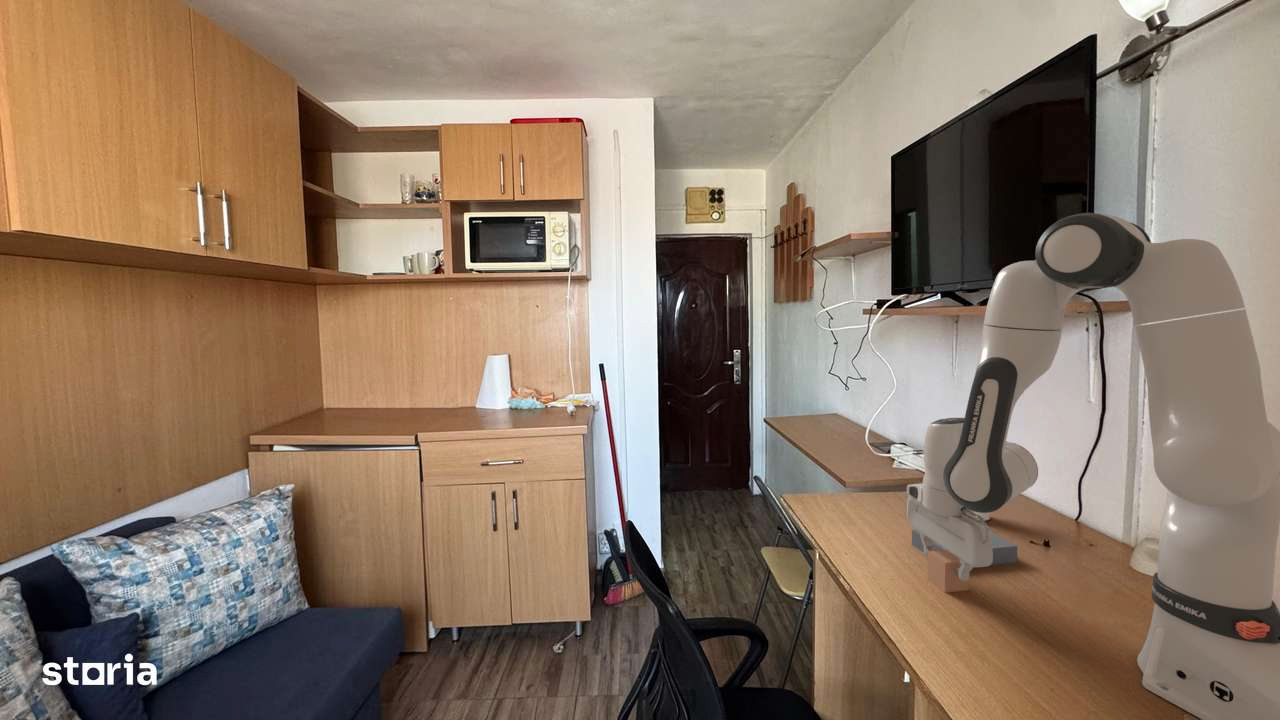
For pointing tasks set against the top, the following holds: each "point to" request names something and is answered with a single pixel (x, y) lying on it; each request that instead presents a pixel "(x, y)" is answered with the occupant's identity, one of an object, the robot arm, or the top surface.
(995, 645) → the top surface
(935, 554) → the block
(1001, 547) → the grey flat slab
